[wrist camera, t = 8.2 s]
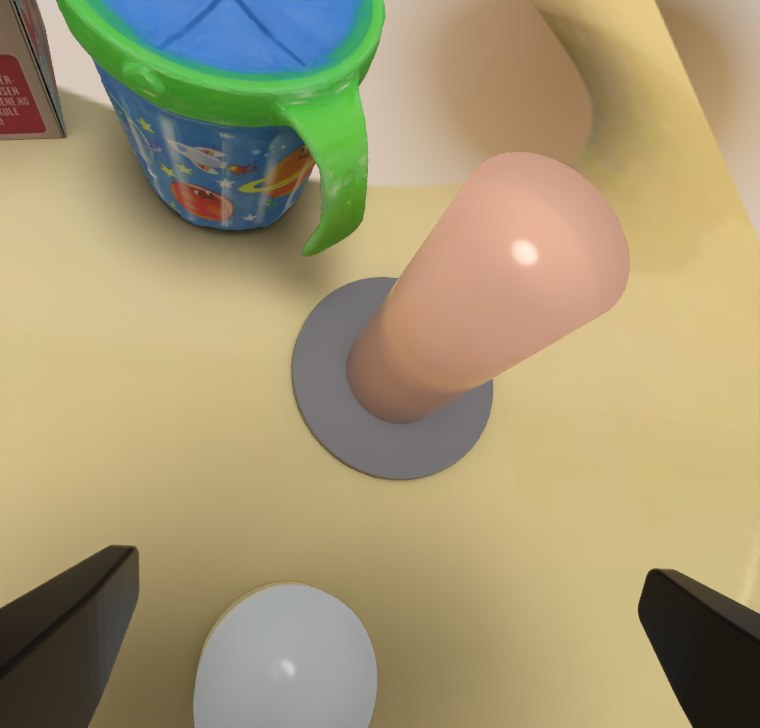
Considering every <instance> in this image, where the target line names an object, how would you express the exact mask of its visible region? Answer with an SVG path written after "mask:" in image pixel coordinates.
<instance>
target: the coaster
mask: <svg viewBox="0 0 760 728" xmlns="http://www.w3.org/2000/svg"><path fill="white" fill-rule="evenodd" d="M397 280H398V278H388V277H378V278H368V279H362V280H358V281H355V282H352V283H349V284H346V285H344V286H342V287H340V288H338V289H336V290H335V291H333V292H332V293H331V294H329V295H328V296H326V297H325V298H324V299H323V300H322V301H321V302H320V303H319V304H318V305H317V306H316V307H315V308H314V309H313V311H312V312H311V313H310V314H309V316H308V318H307V319H306V321H305V323H304V324H303V327H302V329H301V332H300V334H299V336H298V339H297V341H296V345H295V349H294V353H293V360H292V383H293V389H294V395H295V398H296V402H297V405H298V408H299V410H300V412H301V415H302V417H303V419H304V421H305V423H306V424H307V426H308V428H309V429H310V431H311V432H312V434H313V435H314V436H315V438H316V439H317V440H318V441H319V442H320V444H321V445H322V446H323V447H324V448H325V449H326V450H327V451H328V452H330V453H331V454H332V455H333V456H334V457H336V458H337V459H338V460H340V461H341V462H343V463H344V464H346V465H347V466H349V467H351V468H353V469H355V470H357V471H359V472H362V473H365V474H367V475H370V476H374V477H378V478H383V479H392V480H408V479H415V478H420V477H425V476H428V475H431V474H434V473H437V472H440V471H442V470H444V469H446V468H448V467H450V466H451V465H453V464H455V463H456V462H457V461H459V460H460V459H461V458H462V457H464V456H465V455H466V454H467V453H468V452H469V451H470V450H471V449H472V447H473V446H474V445H475V443H476V442H477V441H478V439H479V438H480V436H481V434H482V432H483V430H484V428H485V426H486V423H487V421H488V418H489V415H490V410H491V406H492V398H493V378H492V379H490V380H489V381H487V382H485V383H484V384H482V385H480V386H478V387H477V388H475V389H473V390H471V391H470V392H468V393H466V394H465V395H463V396H461V397H459V398H458V399H456V400H454V401H453V402H451V403H449V404H447V405H446V406H444V407H442V408H441V409H439V410H437V411H435V412H434V413H432V414H430V415H428V416H427V417H425V418H423V419H422V420H419V421H417V422H413V423H409V424H394V423H389V422H386V421H383V420H380V419H378V418H376V417H374V416H373V415H371V414H370V413H369V412H367V411H366V410H365V409H364V408H363V407H362V406H361V405H360V404H359V403H358V401H357V400H356V399H355V397H354V395H353V394H352V392H351V389H350V387H349V384H348V380H347V374H346V363H347V357H348V353H349V351H350V349H351V346H352V345H353V343H354V342H355V340H356V339H357V337H358V336H359V334H360V333H361V332H362V330H363V329H364V327H365V326H366V324H367V323H368V321H369V320H370V319H371V317H372V316H373V314H374V313H375V311H376V310H377V309H378V307H379V306H380V304H381V303H382V301H383V300H384V299H385V297H386V296H387V294H388V293H389V291H390V290H391V289H392V287H393V286H394V284H395V283H396V281H397Z"/></svg>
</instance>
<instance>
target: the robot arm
mask: <svg viewBox="0 0 760 728" xmlns="http://www.w3.org/2000/svg"><path fill="white" fill-rule="evenodd" d="M138 595H139V552H138V549H137V548H136V547H135V546H129V545H110V546H108V547H106V548H104V549H102V550H101V551H99V552H97V553H95V554H94V555H92V556H90V557H88V558H87V559H85V560H83V561H81V562H80V563H78V564H76V565H75V566H73V567H71V568H69V569H68V570H66V571H64V572H62V573H61V574H59V575H57V576H55V577H54V578H52V579H50V580H48V581H47V582H45V583H43V584H42V585H40V586H38V587H36V588H35V589H33V590H31V591H29V592H28V593H26V594H24V595H22V596H21V597H19V598H17V599H15V600H14V601H12V602H10V603H9V604H7V605H5V606H3V607H2V608H0V728H87V727H88V725H89V723H90V721H91V719H92V717H93V715H94V713H95V710H96V708H97V706H98V704H99V702H100V699H101V697H102V694H103V692H104V689H105V687H106V684H107V682H108V679H109V676H110V674H111V671H112V668H113V666H114V663H115V660H116V657H117V655H118V652H119V649H120V647H121V644H122V641H123V639H124V636H125V633H126V631H127V628H128V625H129V623H130V620H131V617H132V615H133V612H134V609H135V607H136V604H137V600H138ZM638 615H639V619H640V621H641V624H642V626H643V628H644V630H645V632H646V634H647V636H648V638H649V641H650V643H651V645H652V647H653V649H654V651H655V653H656V655H657V657H658V660H659V662H660V664H661V666H662V668H663V670H664V672H665V674H666V676H667V679H668V681H669V683H670V685H671V687H672V689H673V691H674V693H675V695H676V697H677V699H678V701H679V703H680V705H681V707H682V709H683V711H684V713H685V715H686V716H687V718H688V720H689V722H690V724H691V725H692V727H693V728H760V614H759V613H757V612H755V611H753V610H751V609H749V608H748V607H746V606H744V605H742V604H740V603H738V602H736V601H734V600H732V599H730V598H728V597H726V596H724V595H723V594H721V593H719V592H717V591H715V590H713V589H711V588H709V587H707V586H705V585H703V584H701V583H699V582H698V581H696V580H694V579H692V578H690V577H688V576H686V575H684V574H682V573H680V572H678V571H676V570H673V569H657V568H654V569H652V570H650V571H649V572H648V573H647V576H646V579H645V583H644V586H643V590H642V593H641V597H640V600H639V604H638Z"/></svg>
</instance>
